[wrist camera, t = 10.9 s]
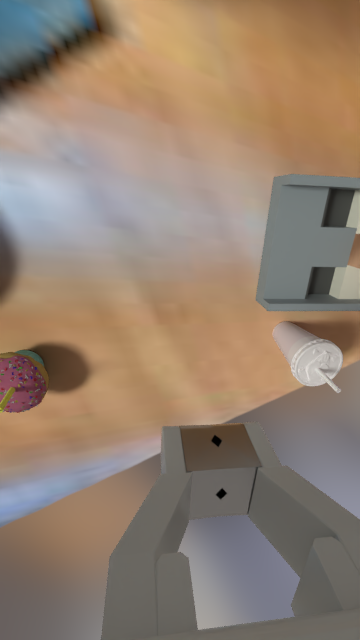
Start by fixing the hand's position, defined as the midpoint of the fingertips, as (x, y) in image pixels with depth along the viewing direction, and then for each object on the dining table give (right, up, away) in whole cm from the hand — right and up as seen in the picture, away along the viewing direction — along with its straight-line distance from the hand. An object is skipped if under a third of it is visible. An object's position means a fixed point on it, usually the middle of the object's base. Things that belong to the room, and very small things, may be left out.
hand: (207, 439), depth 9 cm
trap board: (+18, +14, +30) cm, 38 cm away
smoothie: (+15, +2, +35) cm, 38 cm away
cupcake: (-23, -3, +33) cm, 40 cm away
